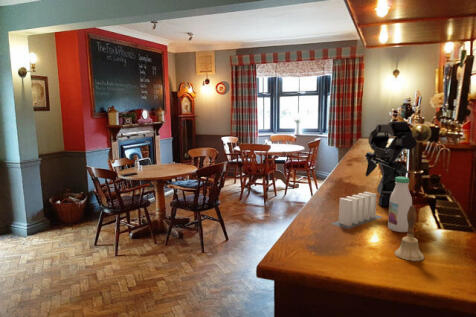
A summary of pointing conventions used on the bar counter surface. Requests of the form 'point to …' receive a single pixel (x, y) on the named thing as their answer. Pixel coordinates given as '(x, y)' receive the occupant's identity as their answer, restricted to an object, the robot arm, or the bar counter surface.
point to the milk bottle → (399, 205)
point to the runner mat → (355, 224)
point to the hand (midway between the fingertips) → (374, 179)
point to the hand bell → (410, 240)
